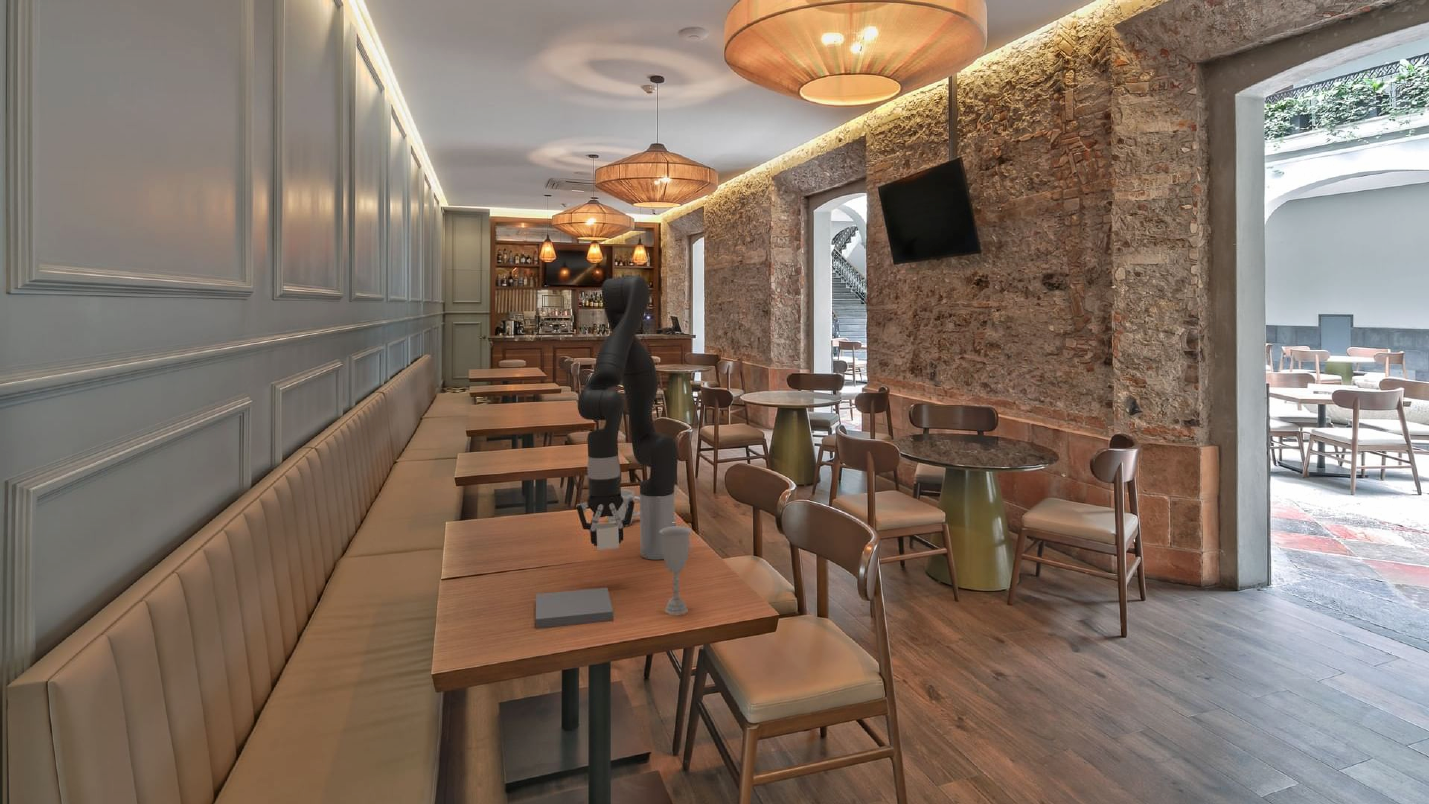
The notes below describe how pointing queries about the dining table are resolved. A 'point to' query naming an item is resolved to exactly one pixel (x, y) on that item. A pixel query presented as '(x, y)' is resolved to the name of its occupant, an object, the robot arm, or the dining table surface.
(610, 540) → the cube
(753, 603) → the dining table surface
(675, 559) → the chalice
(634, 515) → the mug
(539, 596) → the slate board
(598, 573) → the dining table surface
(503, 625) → the dining table surface
